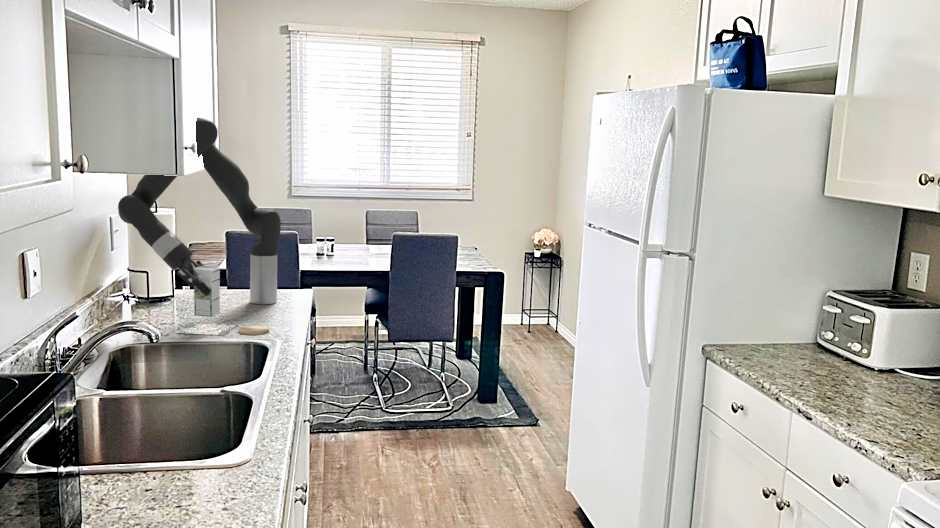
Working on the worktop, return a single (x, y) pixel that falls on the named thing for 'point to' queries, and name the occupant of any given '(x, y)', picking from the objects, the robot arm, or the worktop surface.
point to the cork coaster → (253, 330)
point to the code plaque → (218, 334)
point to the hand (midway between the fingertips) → (212, 291)
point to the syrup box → (211, 302)
